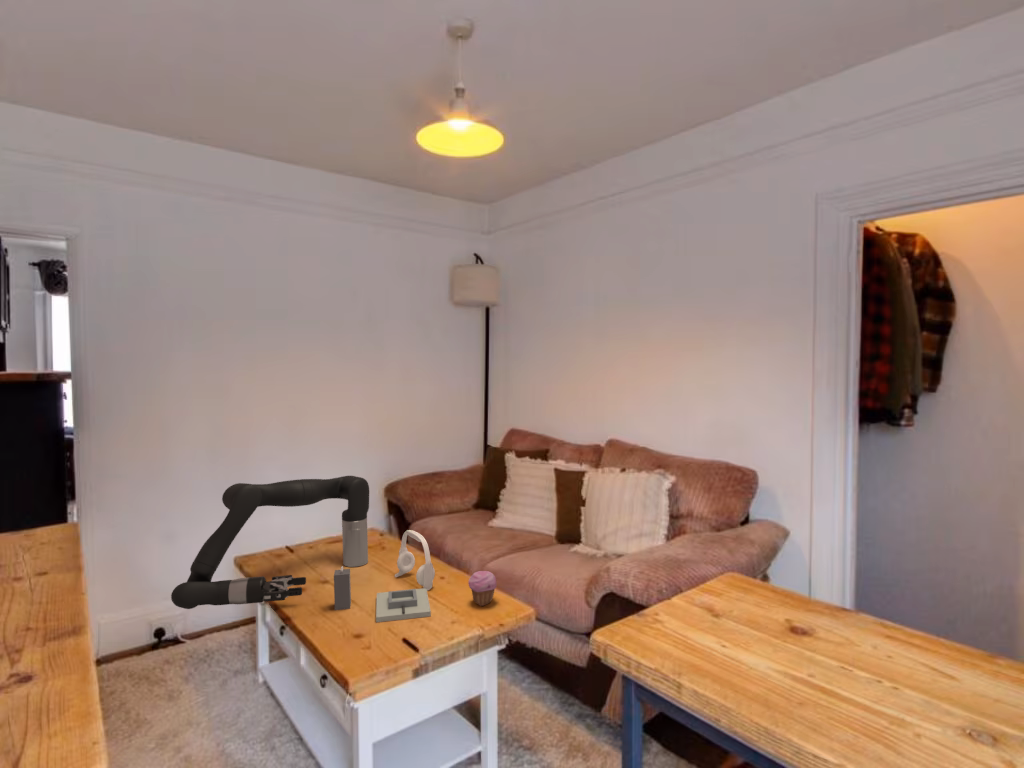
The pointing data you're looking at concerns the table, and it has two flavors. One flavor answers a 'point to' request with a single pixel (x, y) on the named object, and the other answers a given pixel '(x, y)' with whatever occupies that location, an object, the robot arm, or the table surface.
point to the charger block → (342, 589)
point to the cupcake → (482, 587)
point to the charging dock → (402, 605)
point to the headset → (408, 561)
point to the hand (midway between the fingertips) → (303, 585)
